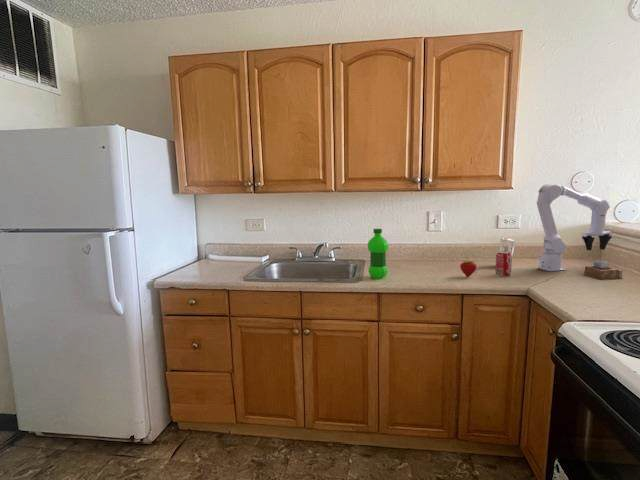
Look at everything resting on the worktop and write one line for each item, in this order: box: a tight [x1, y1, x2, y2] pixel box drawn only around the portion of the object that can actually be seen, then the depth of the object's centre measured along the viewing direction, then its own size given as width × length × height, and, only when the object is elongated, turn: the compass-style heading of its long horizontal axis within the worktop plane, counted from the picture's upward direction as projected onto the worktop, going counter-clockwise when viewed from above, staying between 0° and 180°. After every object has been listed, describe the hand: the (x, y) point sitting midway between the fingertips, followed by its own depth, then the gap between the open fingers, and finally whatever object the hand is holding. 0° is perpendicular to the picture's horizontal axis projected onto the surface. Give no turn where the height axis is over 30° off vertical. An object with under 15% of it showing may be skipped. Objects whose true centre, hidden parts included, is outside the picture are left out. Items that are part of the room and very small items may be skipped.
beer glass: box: [499, 237, 515, 257], centre depth 194 cm, size 7×7×15 cm
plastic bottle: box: [367, 228, 389, 280], centre depth 179 cm, size 10×10×25 cm
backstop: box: [617, 269, 623, 279], centre depth 170 cm, size 2×10×4 cm, turn 6°
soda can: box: [495, 250, 513, 278], centre depth 176 cm, size 7×7×12 cm
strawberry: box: [459, 259, 477, 278], centre depth 175 cm, size 6×8×10 cm
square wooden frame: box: [583, 265, 620, 280], centre depth 169 cm, size 9×9×4 cm
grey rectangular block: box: [593, 260, 610, 270], centre depth 169 cm, size 4×4×7 cm
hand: (595, 249), depth 182 cm, fingers open, 7 cm apart
